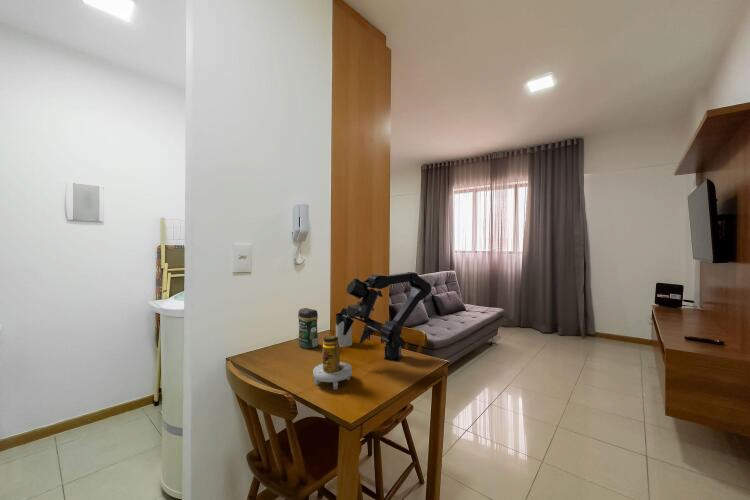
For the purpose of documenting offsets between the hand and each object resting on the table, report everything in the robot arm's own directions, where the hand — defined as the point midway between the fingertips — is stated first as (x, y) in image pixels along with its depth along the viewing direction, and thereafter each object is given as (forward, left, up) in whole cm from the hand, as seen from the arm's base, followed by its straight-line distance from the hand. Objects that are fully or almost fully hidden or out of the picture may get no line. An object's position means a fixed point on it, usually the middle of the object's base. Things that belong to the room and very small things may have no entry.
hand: (352, 339), depth 119 cm
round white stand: (+1, +13, -12) cm, 17 cm away
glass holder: (+22, -25, -12) cm, 35 cm away
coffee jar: (+34, -13, -12) cm, 38 cm away
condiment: (+1, +12, -8) cm, 15 cm away
